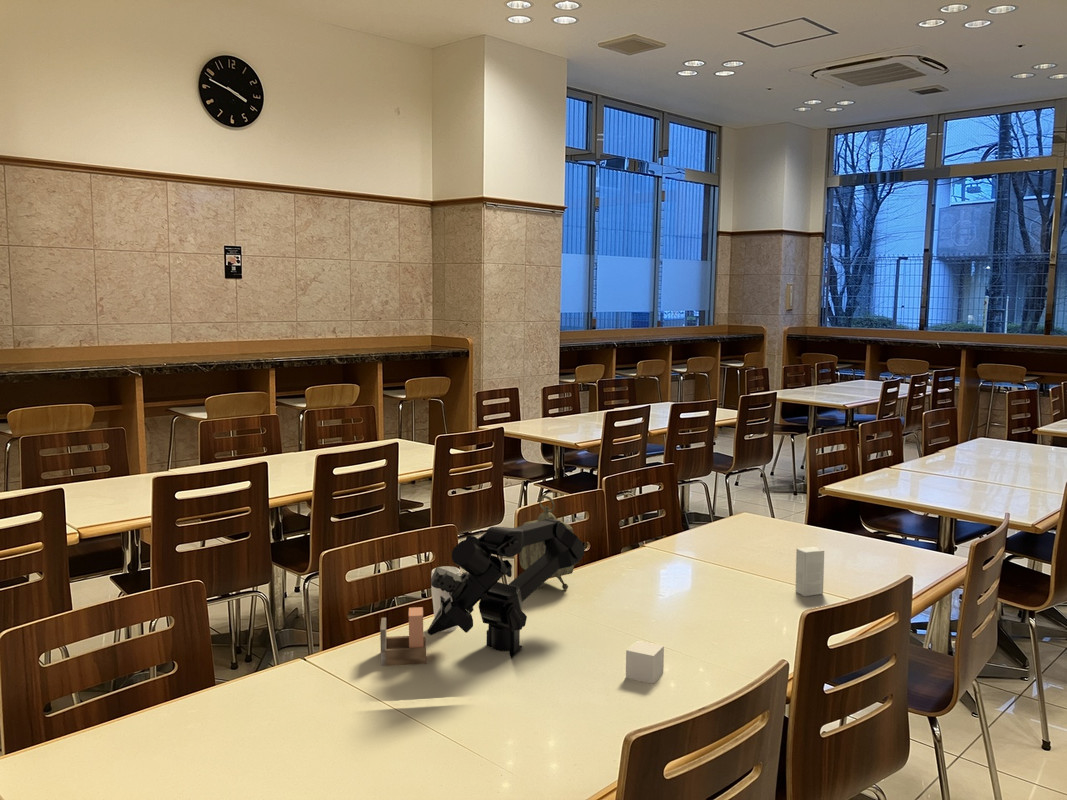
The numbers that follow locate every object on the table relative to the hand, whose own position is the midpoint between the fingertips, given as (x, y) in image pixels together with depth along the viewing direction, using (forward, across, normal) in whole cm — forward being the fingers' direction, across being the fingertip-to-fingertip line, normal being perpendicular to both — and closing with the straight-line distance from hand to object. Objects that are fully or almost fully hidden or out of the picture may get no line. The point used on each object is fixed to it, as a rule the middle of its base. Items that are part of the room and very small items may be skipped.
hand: (428, 633), depth 187 cm
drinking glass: (+1, -16, +8) cm, 18 cm away
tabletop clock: (-19, -46, +29) cm, 57 cm away
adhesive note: (-26, +14, +36) cm, 46 cm away
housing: (+8, -1, +1) cm, 8 cm away
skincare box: (-67, -29, +77) cm, 106 cm away
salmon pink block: (+6, 0, +2) cm, 6 cm away
